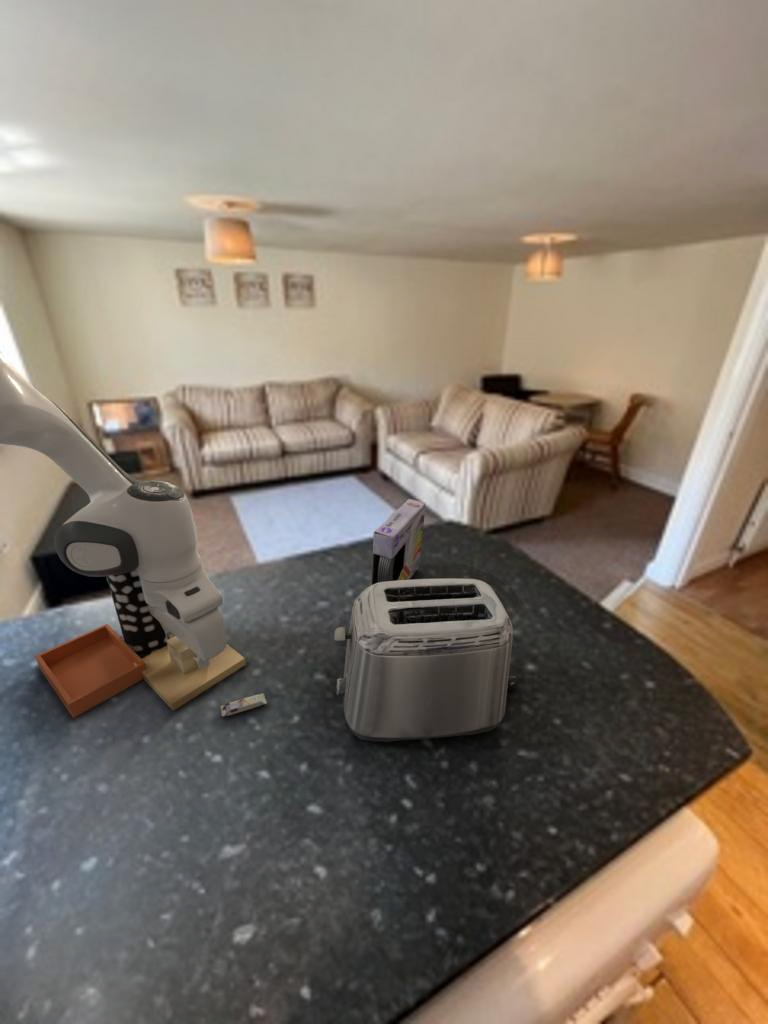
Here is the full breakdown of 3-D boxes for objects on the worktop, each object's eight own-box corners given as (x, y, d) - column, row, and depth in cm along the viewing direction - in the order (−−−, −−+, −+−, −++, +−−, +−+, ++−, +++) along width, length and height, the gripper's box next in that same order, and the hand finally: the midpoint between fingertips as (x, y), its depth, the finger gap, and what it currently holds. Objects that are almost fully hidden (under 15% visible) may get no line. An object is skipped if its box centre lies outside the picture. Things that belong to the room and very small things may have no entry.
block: (170, 661, 76) (166, 640, 74) (195, 647, 79) (191, 627, 77) (184, 674, 73) (179, 653, 71) (209, 659, 76) (205, 638, 75)
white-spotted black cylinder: (180, 644, 82) (160, 549, 73) (129, 662, 77) (102, 563, 69) (171, 620, 88) (151, 529, 79) (123, 635, 84) (97, 541, 75)
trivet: (134, 669, 76) (133, 663, 75) (205, 631, 85) (204, 625, 84) (173, 711, 68) (171, 704, 68) (245, 664, 78) (245, 658, 77)
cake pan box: (388, 612, 92) (391, 536, 84) (366, 605, 94) (368, 530, 86) (421, 568, 108) (427, 501, 100) (402, 563, 110) (406, 497, 102)
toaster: (336, 666, 78) (334, 573, 70) (501, 659, 80) (517, 569, 73) (335, 754, 63) (332, 648, 55) (538, 741, 65) (564, 638, 57)
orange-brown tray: (39, 668, 75) (34, 655, 74) (110, 635, 83) (107, 623, 82) (73, 718, 67) (68, 704, 66) (148, 675, 75) (145, 663, 74)
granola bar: (264, 695, 72) (264, 690, 71) (267, 706, 70) (266, 701, 69) (220, 708, 69) (219, 703, 69) (221, 719, 67) (221, 714, 67)
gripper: (123, 566, 73) (140, 633, 79) (188, 619, 62) (202, 693, 67) (161, 552, 78) (175, 617, 83) (228, 599, 66) (238, 670, 72)
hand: (187, 651), depth 75 cm, fingers open, 8 cm apart
